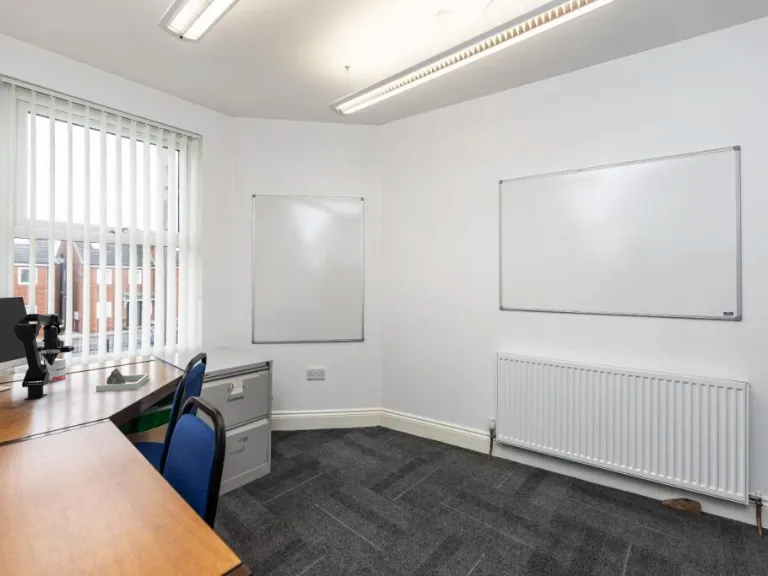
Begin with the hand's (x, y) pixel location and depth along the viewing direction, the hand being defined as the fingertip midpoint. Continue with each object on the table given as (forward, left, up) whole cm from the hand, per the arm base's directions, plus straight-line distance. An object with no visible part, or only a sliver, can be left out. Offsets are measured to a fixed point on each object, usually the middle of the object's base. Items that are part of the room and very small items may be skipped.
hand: (51, 365), depth 204 cm
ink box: (+16, +6, -12) cm, 21 cm away
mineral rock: (-4, -32, -12) cm, 35 cm away
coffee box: (+39, +18, -12) cm, 45 cm away
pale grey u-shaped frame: (-4, -36, -12) cm, 38 cm away
